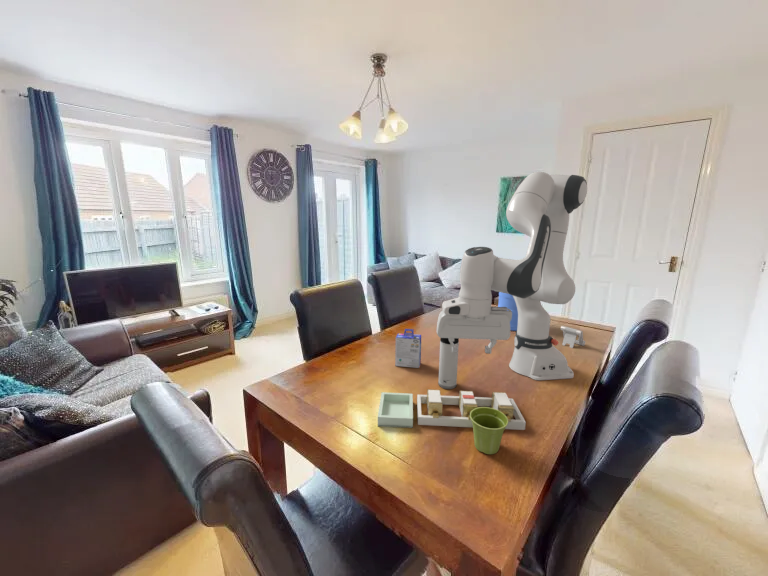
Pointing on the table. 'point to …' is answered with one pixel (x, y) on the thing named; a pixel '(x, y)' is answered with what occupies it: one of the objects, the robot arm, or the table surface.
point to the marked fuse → (466, 402)
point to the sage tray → (396, 410)
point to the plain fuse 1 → (434, 402)
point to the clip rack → (464, 421)
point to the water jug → (510, 303)
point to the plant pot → (488, 428)
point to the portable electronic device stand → (572, 336)
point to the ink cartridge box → (408, 349)
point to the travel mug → (448, 364)
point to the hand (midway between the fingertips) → (471, 352)
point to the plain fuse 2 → (502, 403)
